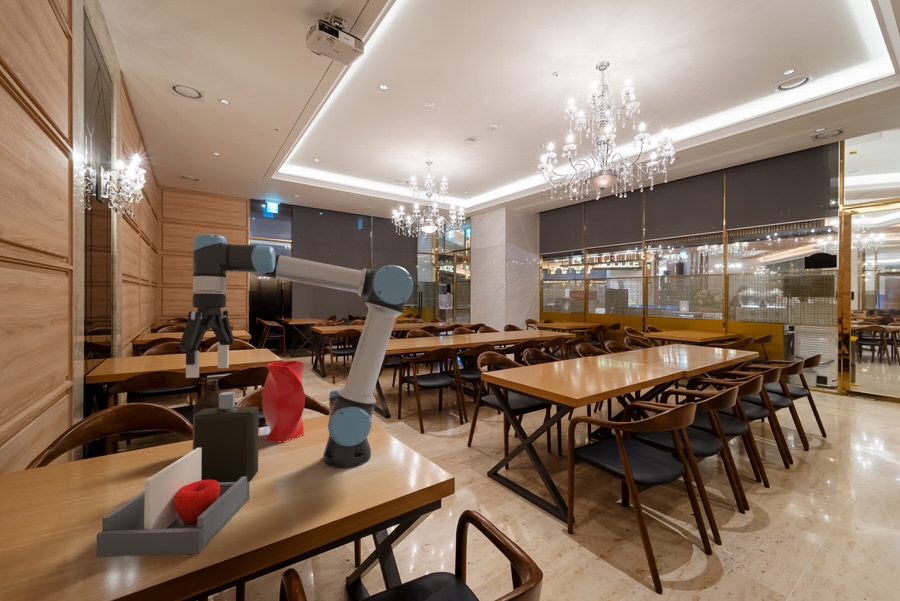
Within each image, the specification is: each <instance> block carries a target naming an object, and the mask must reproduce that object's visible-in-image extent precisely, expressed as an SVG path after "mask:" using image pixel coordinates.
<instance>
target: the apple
mask: <svg viewBox="0 0 900 601" xmlns="http://www.w3.org/2000/svg"><path fill="white" fill-rule="evenodd" d="M219 495H220V485H219V483H218V481H216V480H200V481H197V482H194V483H191V484H188V485H185V486H183V487H182V488H180V489H179V490H178V492H177V494H176V496H175V508H176V512H177V514H178V516H179V518H180V519H181V520H182V521H183V522H184V523H187V524H192V523H196V522H197V518H198V517H199V516H200V515H201V514H202V513H203V512H204V511H205V510H207V509H208V508H209V507H210V506H211V505H212V504H213V503H214V502H215V501H216V500H217V499H218V498H219Z"/></svg>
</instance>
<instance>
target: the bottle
mask: <svg viewBox="0 0 900 601" xmlns="http://www.w3.org/2000/svg"><path fill="white" fill-rule="evenodd" d="M259 412H260V411H259V407H258V406H239V407H238V406H236V392H234V391H225V392H224V391H223V392H220V394H219V408H209V409H203V410H201V411H199V412H198V413H196V414H194V416H193V415H192V417H193V418H192V451H193V450H195V449H196V448H202V459H201V480H216V481H218V482H237V481H238V480H239V479H240V478H241V477H242V476H247V482H249V483H251V481H252V480H253V478H254V477H255V476H256V474H257V473H258V472H259V424H260V423H259V419H260V418H259V417H260V416H259V415H260V413H259Z"/></svg>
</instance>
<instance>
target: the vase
mask: <svg viewBox="0 0 900 601" xmlns="http://www.w3.org/2000/svg"><path fill="white" fill-rule="evenodd" d="M265 366H266V368H267V369H268V371H269V372H268V374H267V377H266V380H265V383H264V387H263V392H262V399H261V400H262V412H263V416H264V420H265V422H266V423H267V425H268V427H269V433H268V435H267V436H266V437H265V438H264V441H267V442H268V441H269V442H276V441H281V442H280V443H285V442H284V441H286V442H288V441H287V440H289V439H292V438H295V437H297V436H300V435H302V434H304V435H305V430H304V423H303V422H304V420H303V413H304V409H305V404H306V394H305V390H304V389H305V388H304V387H303V374H304V370H305V362H302V361H299V360H286V361H285V360H282V361H273V362H270V363H268V364H266V365H265ZM302 420H303V421H302ZM292 440H293V439H292ZM289 441H290V440H289Z"/></svg>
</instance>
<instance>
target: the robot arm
mask: <svg viewBox="0 0 900 601" xmlns="http://www.w3.org/2000/svg"><path fill="white" fill-rule="evenodd" d="M227 272H231V273H233V272H236V273H239V272H240V273H250V274H253V275H255V276H257V277H260V278H261V277H263V278H264V277H265V278H272V279H277V280H278V279H279V280H285V281H289V282H295V283H301V284H307V285H311V286H318V287H322V288H323V287H324V288H329V289H335V290H339V291H344V292H351V293H356V294H357V295H358V297H361V298H366V301H365V305H366V307H367V308H368V311H367V314H366V317H365V320H364V324H363V327H362V331H361V334H360V337H359V340H358V343H357V347H356V350H355V353H354V357H353V359H352V363H351V366H350V369H349V372H348V376H347V379H346V381H345V385H344V387H341V388H335V389H332V390H330V392H329V397H328V400H329V403H328V404H329V411H328V412H329V414H328V416H329V417H328V424H327V430H328V432H329V433H328V439H327V441H326V446H325V448H324V451H323V454H322V455H323V463H324V464H325V465H326V466H329V467H332V468H336V469H337V468H339V469H344V468H353V467H356V466H359V465H362V464H364V463H366V462H368V461H369V460H370V459H371V456H372V454H371V453H372V448H371V446H370V442H369V440H368V436H369V434H370V432H371V430H372V425H373V424H372V416H373V414H374V410H375V406H376V403H377V399H376V397H375V396H374V392H375V388H376V385H377V382H378V379H379V375H380V372H381V368H382V364H383V362H384V358H385V356H386V352H387V348H388V347H389V346H388V345H389V343H390V339H391V336H392V333H393V329H394V326H395V322H396V319H397V318H398V317H400V316H402V315H403V314H404V310H405V307H406V303H407V300H408V299H409V298H410V297H411V295H412V293H413V289H414V282H413V281H414V280H413V278H412V275H411V274H410V273H409V271H408V270H407V269H406V268H404V267H402V266H400V265H396V264H388V265H384V266H382V267H380V268H379V269H370V268H363V269H361V270H359V269H355V268H349V267H344V266H340V265H334V264H328V263H323V262H318V261H313V260H308V259H303V258H298V257H291V256H286V255H282V254H277V253H276V251H275V249H274V247H272V246H270V245H262V244H233V243H228V241H227V238H226V237H225V236H223V235H219V234H209V233H207V234H206V233H200V234H197V235H195V236H194V238H193V249H192V276H193V277H192V292H195V293H193V294H192V307H193V308H195V309H197V311H188V315H187V322H186V324H185V327H184V330H183V333H182V337H181V339H180V342H179V344H178V345H179V346H178V350H180V352H185V378H186V379H192V378H193V379H194V378H200V350H198V349H199V346H200V344H201V343H202V341H203V339H204V336H205V334H206V332H207V331H208V330H209V329H212V331H213V333H214V335H215V338H216V339H217V341H218V343H219V344H218V345H217V369H229V368H230V367H229V366H230V364H229V363H230V361H229V360H230V357H229V356H230V345H233V344H234V340H235V339H234V335H233V330H232V328H231V323H230V320H229V311H228V310H222V309H224V308H226V307H227V295H226V294H225V293H226V292H227Z"/></svg>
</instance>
